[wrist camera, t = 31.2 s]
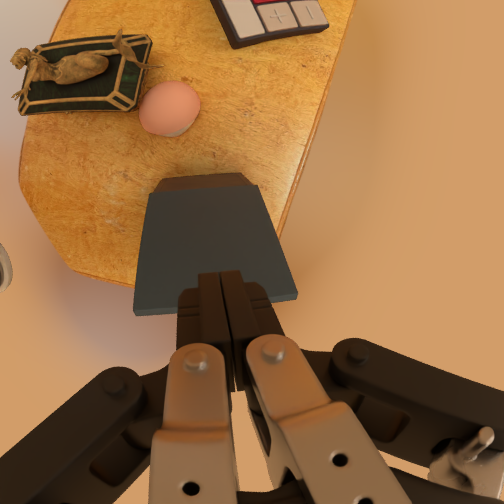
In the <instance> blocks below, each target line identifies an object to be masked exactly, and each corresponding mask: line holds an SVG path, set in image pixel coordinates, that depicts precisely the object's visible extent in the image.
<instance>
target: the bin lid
mask: <svg viewBox="0 0 504 504" xmlns="http://www.w3.org/2000/svg"><path fill="white" fill-rule="evenodd" d="M229 270H240V272H241V275H242V279H243V282H244V283H246V282H257V283H258V284H259V285H261V286H262V287H263V288H264V289H265V291H266V293H267V295H268V298H269V300H270V302H271V303H275V302H283V301H290V300H296V299H297V295H298V291H297V289H296V286H295V283H294V280H293V278H292V275H291V272H290V269H289V267H288V264H287V261H286V259H285V256H284V253H283V251H282V248H281V245H280V242H279V240H278V237H277V234H276V232H275V229H274V226H273V224H272V221H271V219H270V216H269V213H268V211H267V208H266V206H265V203H264V200H263V198H262V195H261V193H260V190H259V188H258V185H245V186H227V187H212V188H199V189H188V190H177V191H167V192H157V193H150V194H149V198H148V203H147V209H146V214H145V219H144V225H143V231H142V237H141V244H140V250H139V258H138V265H137V273H136V282H135V292H134V303H133V311H134V313H135V315H136V316H146V315H147V316H148V315H162V314H175V313H177V311H178V297H179V296H180V294H181V293H182V291H183V290H184V289H186V288H197V287H198V274H199V273H209V272H218V276H219V271H229ZM219 281H220V279H219Z"/></svg>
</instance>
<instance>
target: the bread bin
mask: <svg viewBox="0 0 504 504" xmlns="http://www.w3.org/2000/svg"><path fill="white" fill-rule="evenodd" d="M245 185H253V184H252V183H251V182H250V181H249V180H248V179H247V178H246V177H245V176H244V175H243V174H242V173H224V174H209V175H196V176H184V177H173V178H164V179H162V180H161V181H160V183H159V184H158V186H157V187H156V189H155V190H154V192H153V193H157V192H167V191H177V190H188V189H199V188H212V187H227V186H245Z"/></svg>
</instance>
